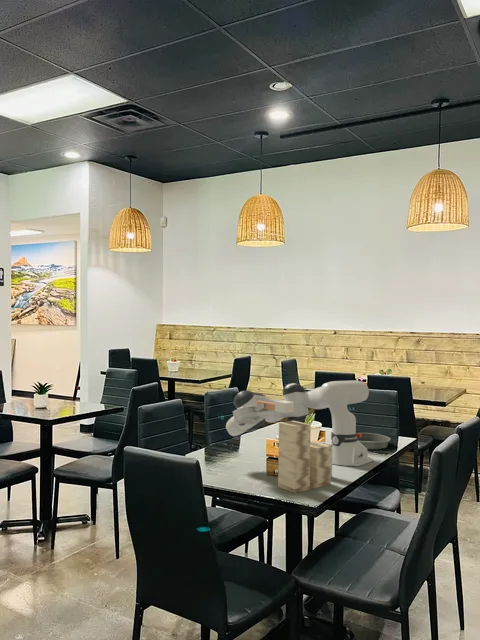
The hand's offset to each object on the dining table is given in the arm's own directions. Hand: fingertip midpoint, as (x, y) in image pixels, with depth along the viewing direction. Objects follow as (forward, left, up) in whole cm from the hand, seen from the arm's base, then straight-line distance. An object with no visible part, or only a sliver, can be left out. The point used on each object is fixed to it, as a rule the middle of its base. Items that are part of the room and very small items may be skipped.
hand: (267, 404), depth 241 cm
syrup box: (-22, +12, -32) cm, 41 cm away
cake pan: (-88, -19, -32) cm, 96 cm away
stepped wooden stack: (-6, +17, -32) cm, 36 cm away
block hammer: (0, +4, -2) cm, 5 cm away
